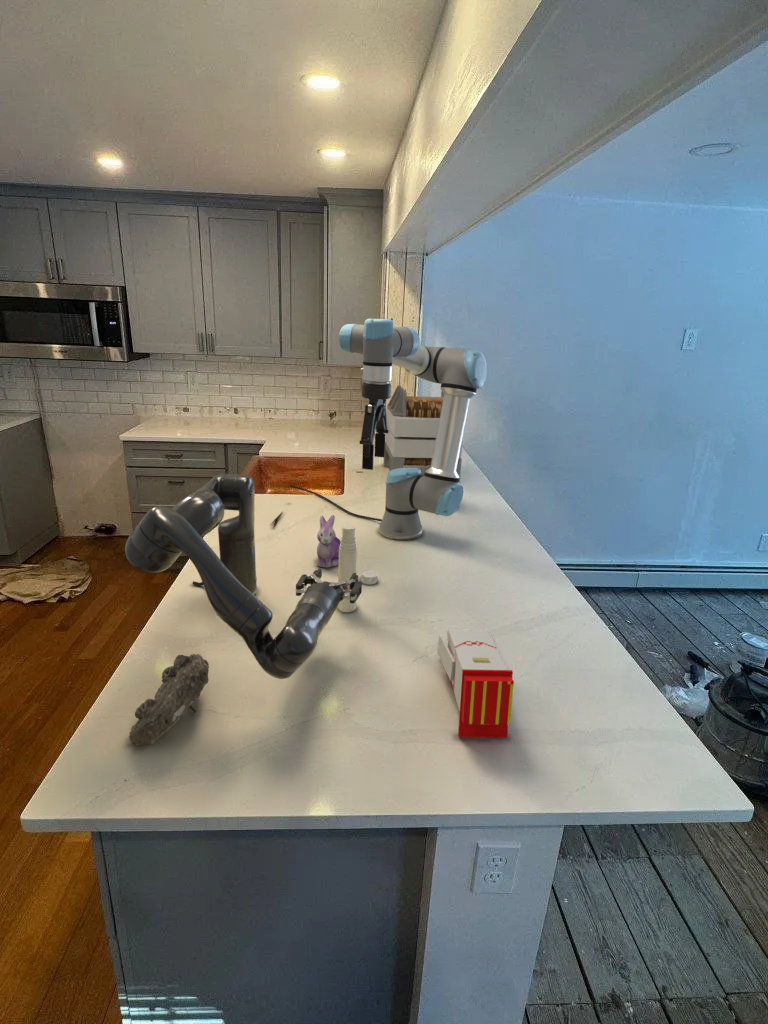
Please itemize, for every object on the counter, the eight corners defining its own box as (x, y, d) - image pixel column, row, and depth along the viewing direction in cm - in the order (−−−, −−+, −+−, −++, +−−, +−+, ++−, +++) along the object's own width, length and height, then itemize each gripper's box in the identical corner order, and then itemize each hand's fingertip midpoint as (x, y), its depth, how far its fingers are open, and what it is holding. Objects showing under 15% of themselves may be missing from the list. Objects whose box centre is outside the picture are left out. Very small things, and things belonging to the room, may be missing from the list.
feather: (289, 506, 225) (292, 502, 225) (272, 529, 199) (275, 525, 198) (286, 503, 225) (288, 500, 225) (268, 527, 199) (271, 522, 198)
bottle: (342, 602, 152) (343, 522, 144) (358, 605, 151) (360, 525, 143) (335, 610, 148) (336, 528, 140) (351, 613, 147) (353, 531, 139)
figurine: (321, 571, 169) (321, 524, 164) (309, 557, 177) (309, 512, 172) (350, 565, 173) (351, 520, 168) (337, 553, 182) (338, 509, 177)
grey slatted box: (382, 463, 289) (386, 382, 275) (445, 464, 293) (451, 384, 279) (390, 482, 257) (394, 392, 243) (460, 483, 261) (468, 394, 247)
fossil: (160, 655, 118) (210, 623, 113) (193, 685, 121) (243, 655, 116) (104, 739, 99) (161, 705, 94) (145, 772, 102) (202, 741, 97)
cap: (358, 581, 164) (358, 574, 163) (368, 576, 167) (368, 569, 167) (370, 586, 161) (370, 578, 161) (380, 581, 165) (380, 573, 164)
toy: (488, 613, 130) (523, 677, 101) (484, 667, 133) (517, 744, 104) (435, 612, 130) (455, 676, 101) (432, 666, 133) (451, 743, 103)
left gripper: (284, 618, 122) (309, 584, 137) (348, 628, 119) (366, 592, 134) (283, 587, 119) (309, 556, 134) (349, 596, 117) (367, 563, 132)
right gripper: (373, 376, 157) (371, 450, 165) (349, 387, 134) (347, 473, 142) (400, 378, 156) (396, 453, 163) (380, 389, 133) (376, 476, 140)
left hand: (337, 574), depth 134 cm, fingers open, 8 cm apart
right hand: (373, 462), depth 152 cm, fingers open, 13 cm apart
